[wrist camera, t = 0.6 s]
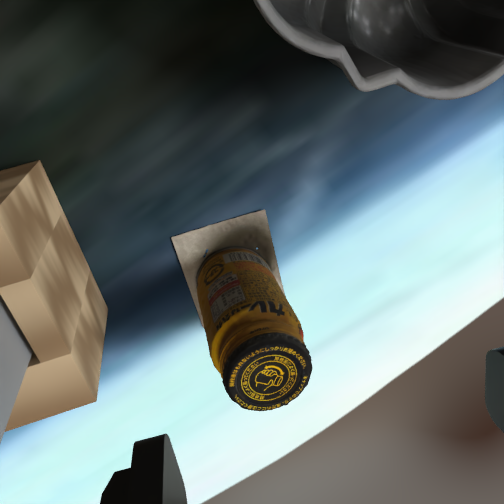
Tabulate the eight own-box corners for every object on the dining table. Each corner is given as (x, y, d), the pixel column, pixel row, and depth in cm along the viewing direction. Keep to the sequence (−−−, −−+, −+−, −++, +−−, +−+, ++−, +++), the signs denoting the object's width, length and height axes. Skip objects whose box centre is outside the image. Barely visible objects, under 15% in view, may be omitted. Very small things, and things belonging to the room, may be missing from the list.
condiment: (202, 325, 37) (227, 439, 26) (170, 236, 33) (184, 327, 22) (285, 298, 38) (341, 398, 27) (263, 207, 34) (320, 283, 23)
